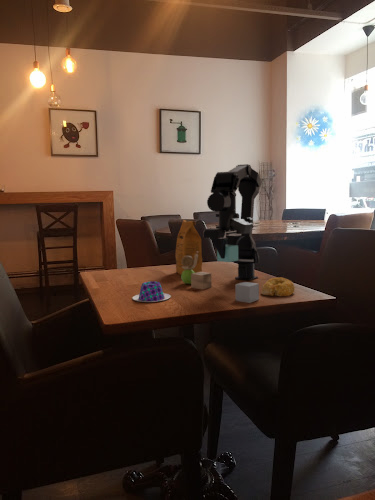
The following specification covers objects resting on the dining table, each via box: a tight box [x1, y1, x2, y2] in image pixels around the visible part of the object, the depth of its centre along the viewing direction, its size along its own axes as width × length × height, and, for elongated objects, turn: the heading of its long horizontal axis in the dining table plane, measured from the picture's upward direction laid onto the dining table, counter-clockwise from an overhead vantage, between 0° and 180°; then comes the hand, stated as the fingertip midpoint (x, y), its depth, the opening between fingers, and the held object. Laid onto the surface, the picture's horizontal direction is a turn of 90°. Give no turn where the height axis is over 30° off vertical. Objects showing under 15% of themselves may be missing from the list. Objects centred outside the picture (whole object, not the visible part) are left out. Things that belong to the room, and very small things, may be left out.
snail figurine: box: [180, 251, 198, 285], centre depth 150 cm, size 5×6×12 cm
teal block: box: [216, 244, 238, 263], centre depth 138 cm, size 5×5×5 cm
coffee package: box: [175, 219, 203, 276], centre depth 171 cm, size 10×12×22 cm
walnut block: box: [190, 271, 213, 290], centre depth 144 cm, size 5×5×5 cm
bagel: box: [260, 277, 296, 297], centre depth 132 cm, size 10×11×5 cm
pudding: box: [132, 281, 172, 303], centre depth 130 cm, size 12×12×5 cm
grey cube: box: [234, 281, 260, 304], centre depth 125 cm, size 5×5×5 cm
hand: (227, 257), depth 138 cm, fingers closed on teal block, 5 cm apart
